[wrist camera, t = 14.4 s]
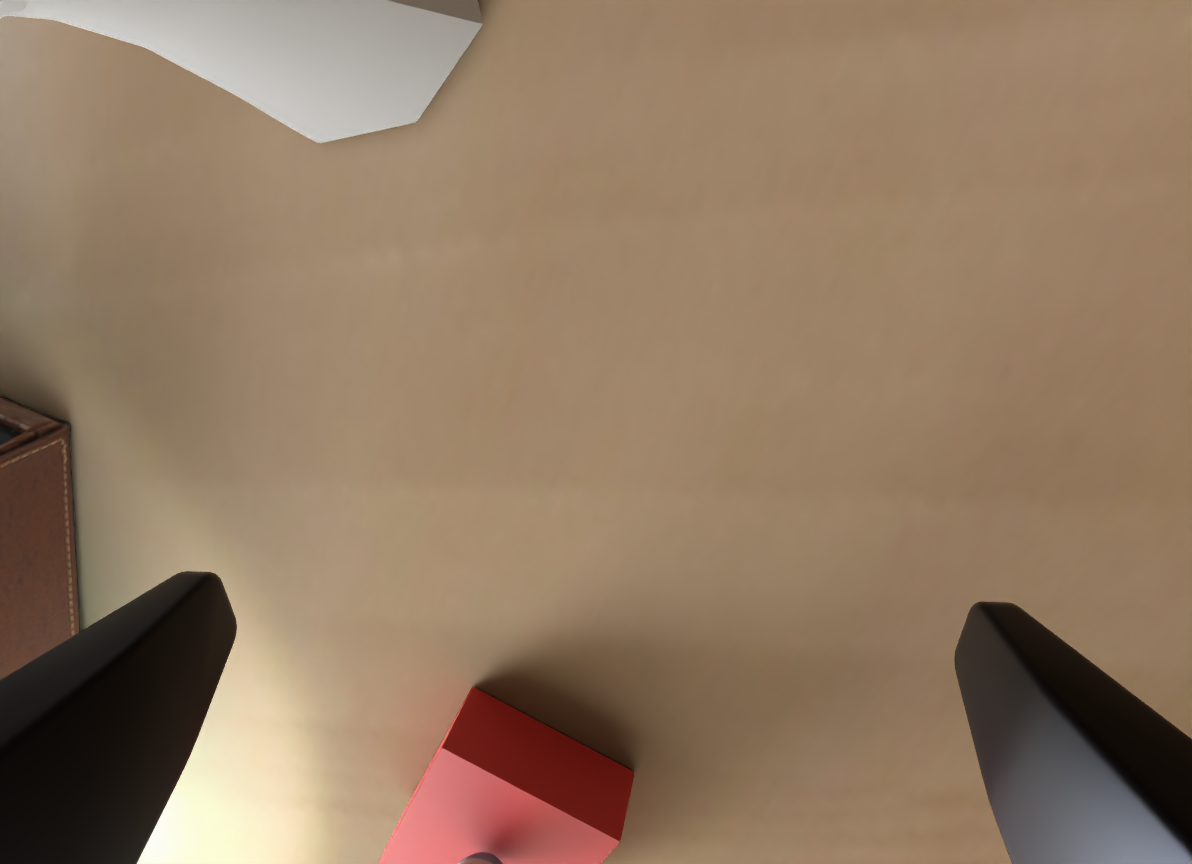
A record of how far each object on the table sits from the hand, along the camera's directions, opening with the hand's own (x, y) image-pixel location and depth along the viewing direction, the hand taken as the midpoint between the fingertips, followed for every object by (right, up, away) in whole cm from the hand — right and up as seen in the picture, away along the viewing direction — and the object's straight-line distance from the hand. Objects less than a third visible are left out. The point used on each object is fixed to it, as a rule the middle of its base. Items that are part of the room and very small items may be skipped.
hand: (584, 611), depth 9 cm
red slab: (-3, -12, +20) cm, 24 cm away
